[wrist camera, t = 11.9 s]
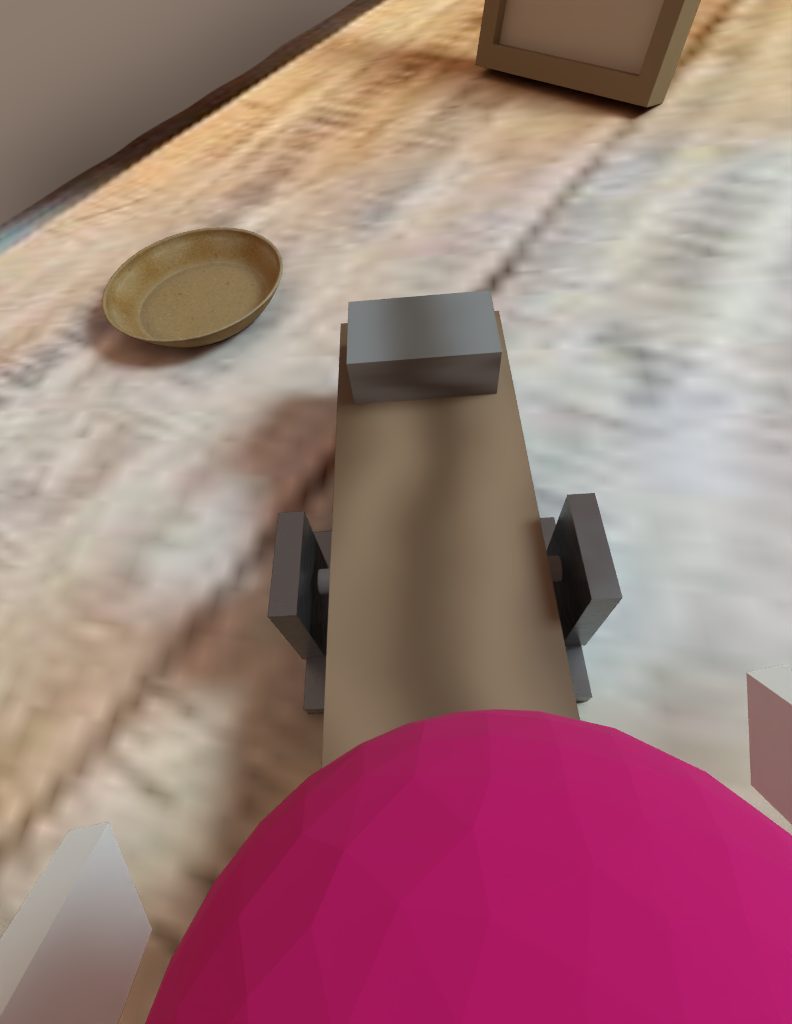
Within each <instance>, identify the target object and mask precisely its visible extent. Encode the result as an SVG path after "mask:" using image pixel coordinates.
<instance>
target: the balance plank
mask: <svg viewBox="0 0 792 1024" xmlns="http://www.w3.org/2000/svg"><path fill="white" fill-rule="evenodd" d="M561 580H562V564H561V560H560V557H559V556H558V555H557V556H547V552H546V547H545V542H544V537H543V532H542V527H541V522H540V517H539V512H538V507H537V502H536V497H535V491H534V486H533V481H532V476H531V471H530V466H529V461H528V456H527V451H526V446H525V441H524V436H523V431H522V426H521V421H520V416H519V411H518V406H517V401H516V396H515V391H514V386H513V381H512V375H511V370H510V365H509V360H508V355H507V350H506V345H505V340H504V335H503V330H502V325H501V320H500V315H499V311H494V308H493V302H492V297H491V292H490V290H488V291H476V292H464V293H452V294H440V295H428V296H416V297H404V298H392V299H380V300H368V301H356V302H349V305H348V323H344V324H341V333H340V356H339V379H338V402H337V425H336V448H335V471H334V494H333V517H332V540H331V563H330V569H319V571H318V589H319V593H320V594H329V609H328V632H327V655H326V678H325V701H324V724H323V747H322V768H323V767H325V766H326V765H328V764H330V763H331V762H333V761H334V760H336V759H337V758H339V757H340V756H342V755H344V754H345V753H347V752H348V751H350V750H351V749H353V748H354V747H356V746H357V745H359V744H361V743H363V742H366V741H368V740H370V739H373V738H375V737H377V736H379V735H382V734H384V733H386V732H389V731H391V730H393V729H396V728H398V727H400V726H403V725H405V724H407V723H411V722H415V721H419V720H424V719H428V718H432V717H437V716H441V715H445V714H450V713H454V712H458V711H475V710H492V709H504V710H528V711H541V712H546V713H550V714H554V715H559V716H563V717H567V718H572V719H576V720H580V718H579V713H578V708H577V703H576V698H575V693H574V688H573V683H572V678H571V673H570V668H569V663H568V658H567V653H566V648H565V643H564V638H563V633H562V628H561V623H560V618H559V613H558V607H557V602H556V597H555V592H554V587H553V582H558V581H561Z"/></svg>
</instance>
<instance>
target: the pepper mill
mask: <svg viewBox="0 0 792 1024" xmlns="http://www.w3.org/2000/svg"><path fill="white" fill-rule="evenodd" d="M145 1024H792V836H791V835H790V834H789V833H788V832H787V831H785V830H784V829H783V828H781V827H780V826H779V825H777V824H776V823H774V822H773V821H772V820H770V819H769V818H768V817H766V816H765V815H764V814H762V813H761V812H760V811H758V810H757V809H756V808H754V807H753V806H752V805H750V804H749V803H747V802H746V801H745V800H743V799H742V798H741V797H739V796H738V795H737V794H735V793H734V792H732V791H731V790H730V789H728V788H727V787H726V786H724V785H723V784H721V783H720V782H719V781H717V780H716V779H715V778H713V777H712V776H711V775H709V774H708V773H706V772H705V771H702V770H700V769H698V768H696V767H694V766H692V765H690V764H688V763H686V762H684V761H682V760H680V759H678V758H675V757H673V756H671V755H669V754H667V753H665V752H663V751H661V750H659V749H657V748H655V747H653V746H651V745H648V744H646V743H644V742H642V741H640V740H638V739H636V738H634V737H632V736H630V735H628V734H626V733H624V732H621V731H619V730H617V729H615V728H611V727H607V726H602V725H598V724H594V723H589V722H585V721H581V720H576V719H572V718H567V717H563V716H559V715H554V714H550V713H546V712H541V711H528V710H504V709H492V710H475V711H458V712H454V713H450V714H445V715H441V716H437V717H432V718H428V719H424V720H419V721H415V722H411V723H407V724H405V725H403V726H400V727H398V728H396V729H393V730H391V731H389V732H386V733H384V734H382V735H379V736H377V737H375V738H373V739H370V740H368V741H366V742H363V743H361V744H359V745H357V746H356V747H354V748H353V749H351V750H350V751H348V752H347V753H345V754H344V755H342V756H340V757H339V758H337V759H336V760H334V761H333V762H331V763H330V764H328V765H326V766H325V767H323V768H322V769H320V770H319V771H317V772H316V773H314V774H313V775H311V776H309V777H308V778H307V779H306V780H305V781H304V782H303V783H302V784H301V785H300V786H299V787H298V788H297V789H296V790H295V791H293V792H292V793H291V794H290V795H289V796H288V797H287V798H286V799H285V800H284V801H283V802H282V803H281V804H280V805H278V806H277V807H276V808H275V809H274V810H273V811H272V812H271V813H270V814H269V815H268V816H267V817H266V818H265V819H264V820H262V821H261V822H260V824H259V825H258V826H257V827H256V829H255V830H254V831H253V833H252V834H251V835H250V837H249V838H248V839H247V840H246V842H245V843H244V844H243V846H242V847H241V848H240V849H239V851H238V852H237V853H236V855H235V856H234V857H233V859H232V860H231V861H230V862H229V864H228V865H227V866H226V868H225V869H224V870H223V872H222V873H221V874H220V875H219V877H218V878H217V879H216V881H215V882H214V884H213V885H212V887H211V889H210V891H209V893H208V894H207V896H206V898H205V900H204V902H203V903H202V905H201V907H200V909H199V910H198V912H197V914H196V916H195V918H194V919H193V921H192V923H191V925H190V926H189V928H188V930H187V932H186V934H185V935H184V937H183V939H182V941H181V943H180V944H179V946H178V948H177V950H176V951H175V953H174V955H173V957H172V959H171V961H170V963H169V966H168V968H167V971H166V973H165V976H164V978H163V981H162V983H161V986H160V988H159V991H158V993H157V996H156V998H155V1001H154V1003H153V1006H152V1008H151V1011H150V1013H149V1015H148V1018H147V1020H146V1023H145Z"/></svg>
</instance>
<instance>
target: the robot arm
mask: <svg viewBox="0 0 792 1024" xmlns="http://www.w3.org/2000/svg"><path fill="white" fill-rule="evenodd" d="M747 693H748V719H749V744H750V769H751V785H752V786H753V787H754V788H755V789H756V790H757V791H758V792H759V793H760V794H761V795H762V796H763V797H764V798H765V799H766V800H767V801H768V802H769V803H770V804H771V805H772V806H773V807H774V808H775V809H776V810H778V811H779V812H780V813H781V814H782V815H783V816H784V817H785V818H786V819H787V820H788V821H789V822H790V823H791V824H792V670H790V669H789V668H787V667H786V666H784V665H778V666H773V667H769V668H765V669H760V670H756V671H752V672H748V673H747ZM151 932H152V928H151V925H150V923H149V920H148V918H147V915H146V913H145V911H144V908H143V906H142V903H141V901H140V898H139V896H138V893H137V891H136V888H135V886H134V883H133V881H132V878H131V876H130V873H129V871H128V868H127V866H126V863H125V861H124V858H123V856H122V853H121V851H120V848H119V846H118V843H117V841H116V838H115V836H114V833H113V831H112V828H111V826H110V823H109V822H105V823H101V824H96V825H92V826H88V827H84V828H79V829H75V830H71V831H69V832H68V834H67V835H66V837H65V838H64V840H63V841H62V843H61V845H60V846H59V848H58V849H57V851H56V853H55V854H54V856H53V857H52V859H51V860H50V862H49V864H48V865H47V867H46V868H45V870H44V871H43V873H42V875H41V876H40V878H39V879H38V881H37V882H36V884H35V886H34V887H33V889H32V890H31V892H30V894H29V895H28V897H27V898H26V900H25V901H24V903H23V905H22V906H21V908H20V909H19V911H18V912H17V914H16V916H15V917H14V919H13V920H12V922H11V923H10V925H9V927H8V928H7V930H6V931H5V933H4V935H3V936H2V938H1V939H0V1024H118V1022H119V1020H120V1017H121V1014H122V1011H123V1009H124V1006H125V1003H126V1000H127V998H128V995H129V992H130V989H131V987H132V984H133V981H134V979H135V976H136V973H137V970H138V968H139V965H140V962H141V959H142V957H143V954H144V951H145V948H146V946H147V943H148V940H149V937H150V935H151Z"/></svg>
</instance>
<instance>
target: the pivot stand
mask: <svg viewBox="0 0 792 1024" xmlns="http://www.w3.org/2000/svg"><path fill="white" fill-rule="evenodd" d="M540 522H541V527H542V532H543V537H544V542H545V547H546V552H547V556H557V555H558V556H559V557H560V560H561V564H562V580H561V581H558V582H553V587H554V592H555V597H556V602H557V607H558V613H559V618H560V623H561V628H562V633H563V638H564V643H565V648H566V653H567V658H568V663H569V668H570V673H571V678H572V683H573V688H574V693H575V698H576V702H580V701H588V700H589V699H590V698H591V697H592V694H591V690H590V685H589V680H588V675H587V671H586V666H585V661H584V657H583V652H582V647H581V645H586V644H587V642H588V641H589V640H590V638H591V637H592V636H593V635H594V633H595V632H596V631H597V630H598V628H599V627H600V626H601V625H602V623H603V622H604V621H605V619H606V618H607V617H608V616H609V614H610V613H611V612H612V611H613V609H614V608H615V607H616V605H617V604H618V603H619V602H620V600H621V599H622V594H621V591H620V587H619V583H618V579H617V575H616V572H615V568H614V564H613V560H612V557H611V553H610V549H609V545H608V542H607V538H606V534H605V530H604V527H603V523H602V519H601V515H600V511H599V508H598V504H597V500H596V496H595V493H588V494H572V495H567V497H566V500H565V503H564V505H563V508H562V511H561V513H560V516H559V519H558V521H557V524H555V520H554V517H551V518H540ZM331 540H332V531H321V532H314V533H313V531H312V528H311V526H310V524H309V522H308V519H307V517H306V515H305V512H304V511H302V512H286V513H278V522H277V532H276V541H275V551H274V560H273V570H272V580H271V589H270V599H269V609H268V618H269V619H270V620H271V621H272V622H273V624H274V625H275V626H276V627H277V628H278V630H279V631H280V632H281V633H282V634H283V636H284V637H285V638H286V639H287V640H288V642H289V643H290V644H291V645H292V646H293V648H294V649H295V650H296V651H297V652H298V654H299V655H300V656H301V657H302V658H303V659H307V663H306V679H305V695H304V710H305V711H306V712H307V713H324V701H325V678H326V655H327V632H328V609H329V594H320V593H319V589H318V571H319V569H330V563H331Z"/></svg>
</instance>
